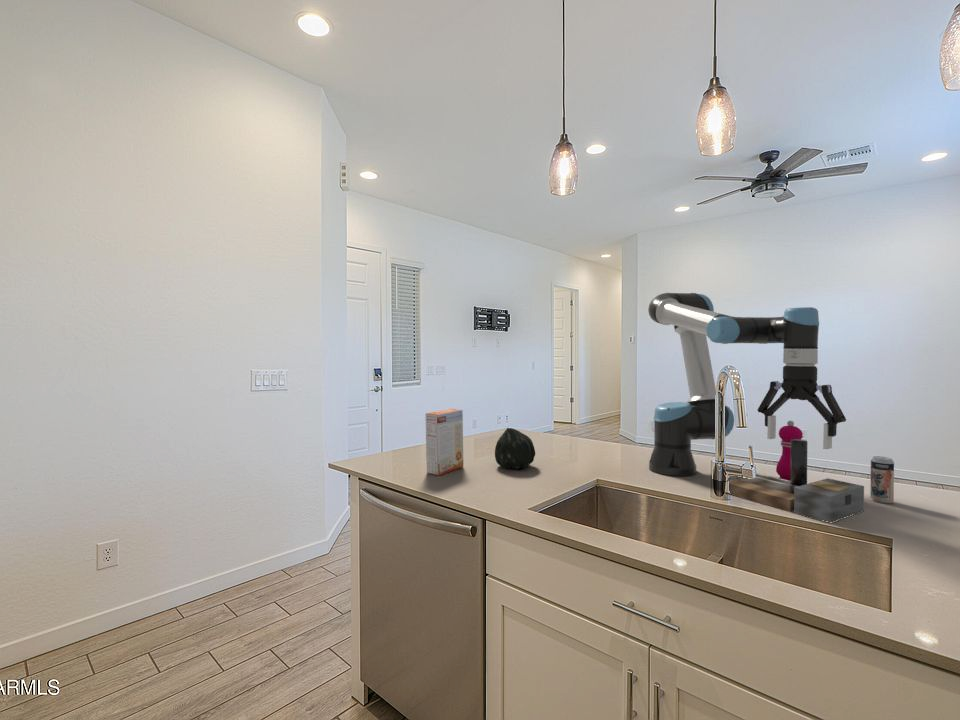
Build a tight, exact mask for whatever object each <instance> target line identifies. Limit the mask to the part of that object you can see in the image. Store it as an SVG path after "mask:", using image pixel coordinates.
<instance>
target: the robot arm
mask: <svg viewBox="0 0 960 720" xmlns="http://www.w3.org/2000/svg"><path fill="white" fill-rule="evenodd" d="M714 310H715V308H714V304H713V302H712V300H711V298H709V297H708V296H707V295H705V294H703V293H696V292H691V293H690V292H688V293H687V292H685V293H683V292H664V293H660V294H657V295H656V296H655V297H654V298H653V299H652V300H651V301H650V302H649V305H648V310H647V311H648V315H649V317H650V318H651V320H652V321H654V322H655V323H657V324H661V325H663V326H670V325H672V326H673V327H674V329H673V330H674V332H675V333H676V334H678V335H679V336H680V337H679V338H680V345H681V349H682V355H683V362H684V367H685V374H686V380H687V386H688V392H689V398H688V400H687V401H676V402H675V401H674V402H673V401H672V402H671V401H670V402H663V403H661V404H658V405H657V406H656V407H655V408H654V417H653V421H654V423H653V425H654V427H653V428H654V438H653V440H654V443H653V445H654V447H653V450H652V453H651V455H650V459H649V461H648V469H649V470H650V471H651V472H653V473H657V474H662V475H666V476H675V477H686V476H687V477H689V476H693V475H696V474H697V464H696V463H695V458H694V455H693V451H692V449H691V448H692V446H691V445H692V440H716V439H715V395H716V393H717V390H716V383H715V377H714V372H713V366H712V361H711V356H710V350H709V343H708V339H709V340H710V341H711V342H712V343H715V344H722V345H723V344H724V345H727V344H760V345H761V344H764V345H766V344H783V354H782V355H783V356H782V357H783V359H782V361H783V362H782V363H783V364H785V365H783V367H782V382H779V381H778V380H773V381H770V384H769V389H768V391H767V392H766V394H765V395H764V398H763V399H762V401H761V403H760V404H759V406H758V408H757V412H758V413H761V414H762V415H764V426H765V427H767V433H766V434H767V440H775V439H776V438H777V437H776V433H777V432H776V431H777V430H776V429H777V428H776V427H777V415H775V413H777V412H776V411H779V409H780V408H781V407H782V406H783V405H785V403H786V402H787V401H788V400H799V401H807V402H808V403H810V404H811V405H812V407H814V408H815V410H816V411H817V413H819V415H820V416H821V417H822V418H823V420H824V421H826V423H823V442H822V443H823V444H822V445H823V447H822V449H823V450H829V449H833V437H836V436H837V425H838V424H840V423H845V422H846V421H847V418H846V416H845V415H844V412H843V411H842V409H841V407H840V405H839V403H838V401H837V399H836V398H835V396H834V394H833V387H832V385H831V384H822V385H821V384H820V385H818V383H817V381H818V367H817V366H816V365H817V364H818V363H819V362H818V359H819V358H818V357H819V355H818V354H819V353H818V352H819V350H818V349H819V347H818V345H819V328H820V320H819V310H818V309H817V308H816V307H811V306H810V307H809V306H807V307H806V306H805V307H802V306H801V307H791V308H786V309H785V310H784V313H783V316H776V317H775V316H773V317H771V316H770V317H768V316H767V317H764V316H763V317H762V316H761V317H759V316H757V317H755V316H754V317H752V316H751V317H750V316H749V317H748V316H747V317H743V316H731V315H728V314H724V313H720V312H716V311H714ZM707 337H708V339H707ZM780 389H782V390H783V393H781V394H780V396H779V397H778V398H777V399H776V400H775V401H774V402H773V400H774V399H775V397H776V396H777V394H778V392H779V390H780ZM818 391H819V392H820V393H821V395H822V397H823V399H824V401H825V403H826V404H827V406H828V408H827V407H826V405H824V403H823V402H822V401H821V399H820V397H819V396H818V395H817V394H816V393H817V392H818ZM772 402H773V403H772ZM734 426H735V415H734V413H733V411H732V409H731V408H730V407H729V406H727V405H725V437H724V438H726V437H727V436H729V434H731V431H733V429H734Z"/></svg>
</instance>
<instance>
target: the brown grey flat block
mask: <svg viewBox="0 0 960 720" xmlns="http://www.w3.org/2000/svg"><path fill="white" fill-rule="evenodd" d="M755 473H756V477H755V478H754V479H748V478H743V477H737V478H734V479H730V481H729V480H728V481H729V491H730V493H731V494H730V495H731V496H735V497H738V498H742V499H745V500H749V501H752V502H755V503H759V504H763V505H766V506H769V505H770V507H772V506H773V508H777V509H779V508H780V509H779V510H782V511H786V510H787V511H786V512H789V511H790V512H793V513H794V512H795V513H794V514H796V513H798V514H797V515H800V514H802V515H801V516H803V515H805V516H804V517H807V516H808V517H807V518H810V517H812V518H811V519H814V518H816V519H815V520H817V519H820V520H819V521H821V520H824V521H828V522H833V521H836V520H838V519H841V518H844V517H847V516H850V515H852V514H855V513H857V514H859V513H858V512H860V513H862V512H861V511H863V512H864V509H865V486H864V485H862V484H861V485H860V484H856V483H851V482H848V481H843V480H837V479H832V478H828V477H827V478H823V479H820V480H817V481H813V482H810V483H807V484H805V485H802V486H798V487H795V488H794V492H793V491H792V485H789V484H785V483H784V482H788V480H784V479H780V478H779V477H775V476H771V475H766V474H762V473H757V472H755ZM790 482H791V481H790ZM792 510H793V511H792ZM855 515H856V514H855ZM852 516H853V515H852ZM850 517H851V516H850ZM847 518H848V517H847ZM844 519H845V518H844ZM824 521H823V522H824ZM836 522H837V521H836Z"/></svg>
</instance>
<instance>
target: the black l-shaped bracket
mask: <svg viewBox="0 0 960 720" xmlns="http://www.w3.org/2000/svg"><path fill="white" fill-rule="evenodd" d="M784 483H785V484H789V485H792V491H793V492H794V488H795V487H798V486H802V485H805V484H808V440H806V439H801V440H800V439H791V482H790V481H788V482H784Z"/></svg>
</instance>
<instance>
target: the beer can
mask: <svg viewBox="0 0 960 720" xmlns="http://www.w3.org/2000/svg"><path fill="white" fill-rule="evenodd" d="M894 482H895V462H894V460H893V459H892V458H891V457H888V456H887V457H886V456H879V455H878V456H877V455H874V456H872V457H871V459H870V493H869V494H870V496H869V498H870V499H871V500H872V501H874V502H875V503H880V504H887V505H888V504H892V503H894V502H895V501H894V495H895V493H894V492H895V491H894V490H895V489H894V488H895V483H894Z"/></svg>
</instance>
